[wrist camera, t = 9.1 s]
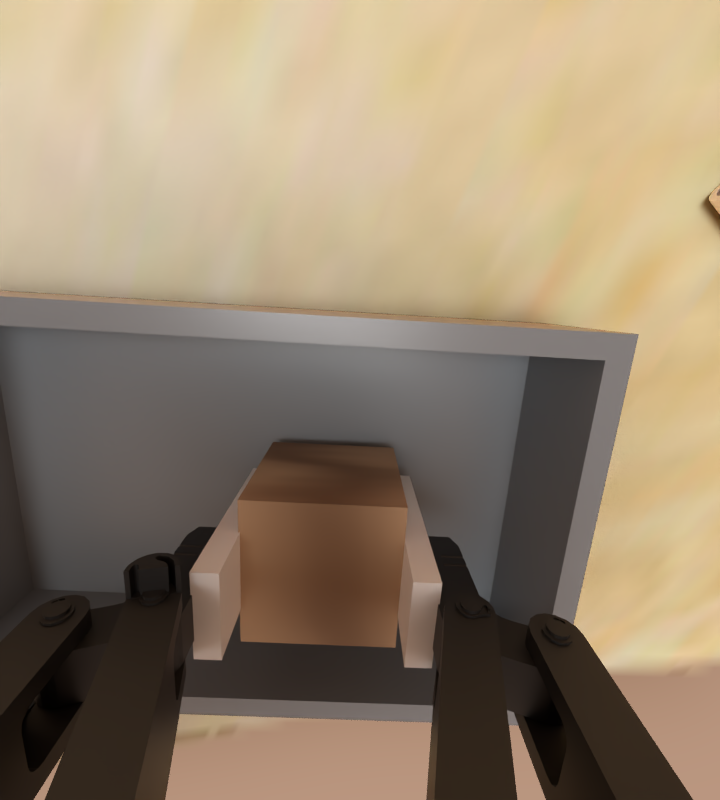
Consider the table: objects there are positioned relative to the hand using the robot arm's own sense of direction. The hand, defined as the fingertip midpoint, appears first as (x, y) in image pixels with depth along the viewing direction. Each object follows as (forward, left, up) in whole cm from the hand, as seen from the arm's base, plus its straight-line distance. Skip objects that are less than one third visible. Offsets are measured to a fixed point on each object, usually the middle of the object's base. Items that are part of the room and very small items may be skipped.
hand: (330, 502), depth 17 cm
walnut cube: (0, 0, 0) cm, 0 cm away
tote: (-3, +1, -2) cm, 4 cm away
